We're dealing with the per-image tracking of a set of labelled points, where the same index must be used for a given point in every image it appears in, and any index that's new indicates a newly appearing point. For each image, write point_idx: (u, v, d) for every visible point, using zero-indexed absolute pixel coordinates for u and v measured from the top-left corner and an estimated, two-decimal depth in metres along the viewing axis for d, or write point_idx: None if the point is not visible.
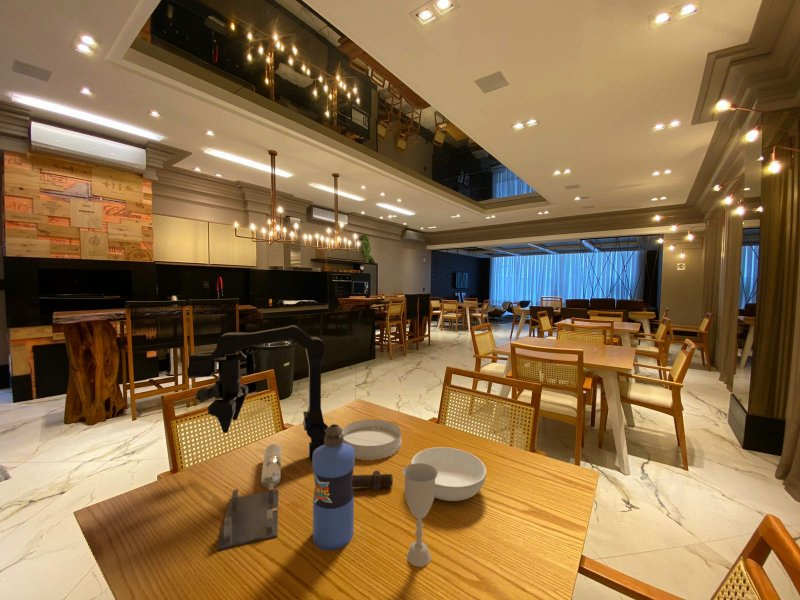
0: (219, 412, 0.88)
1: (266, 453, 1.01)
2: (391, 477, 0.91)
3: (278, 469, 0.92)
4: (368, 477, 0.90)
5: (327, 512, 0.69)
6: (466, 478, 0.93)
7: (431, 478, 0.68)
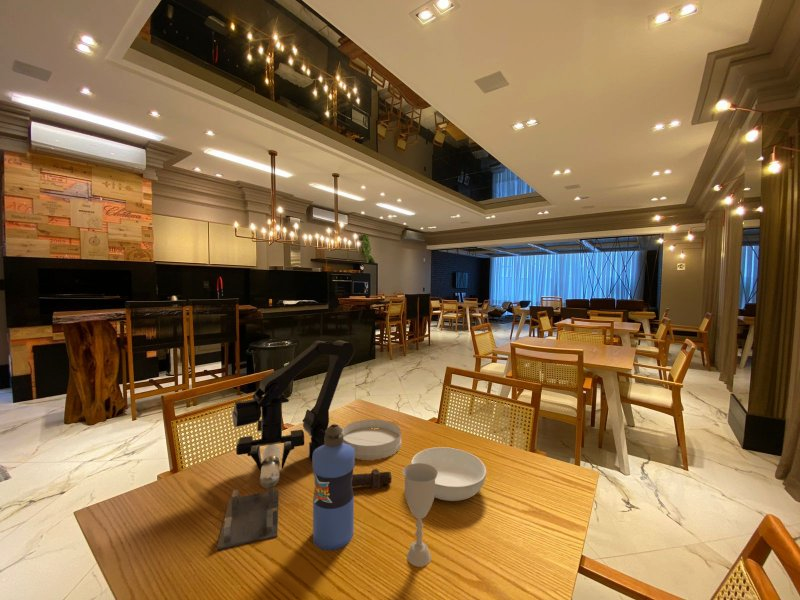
0: None
1: (264, 454, 1.01)
2: (390, 474, 0.92)
3: (276, 469, 0.92)
4: (367, 476, 0.91)
5: (327, 512, 0.69)
6: (466, 478, 0.93)
7: (431, 478, 0.68)
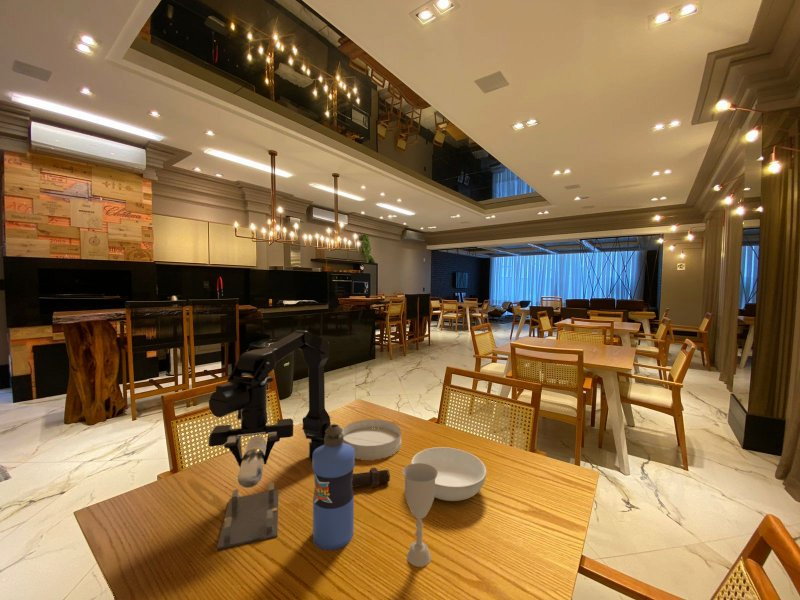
0: None
1: (247, 446, 0.84)
2: (388, 473, 0.93)
3: (259, 464, 0.75)
4: (366, 475, 0.91)
5: (327, 512, 0.69)
6: (466, 478, 0.93)
7: (431, 478, 0.68)
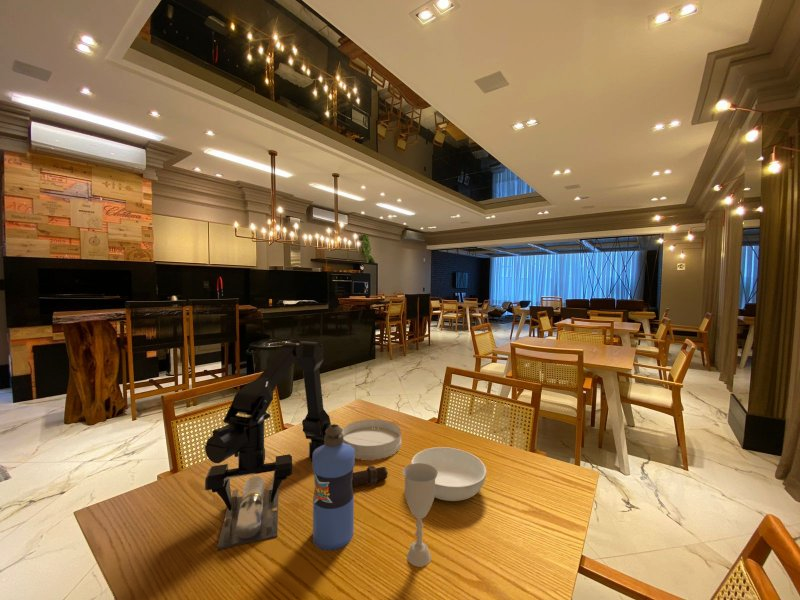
0: None
1: (245, 489, 0.82)
2: (385, 469, 0.95)
3: (258, 513, 0.73)
4: (364, 473, 0.92)
5: (327, 512, 0.69)
6: (466, 478, 0.93)
7: (431, 478, 0.68)
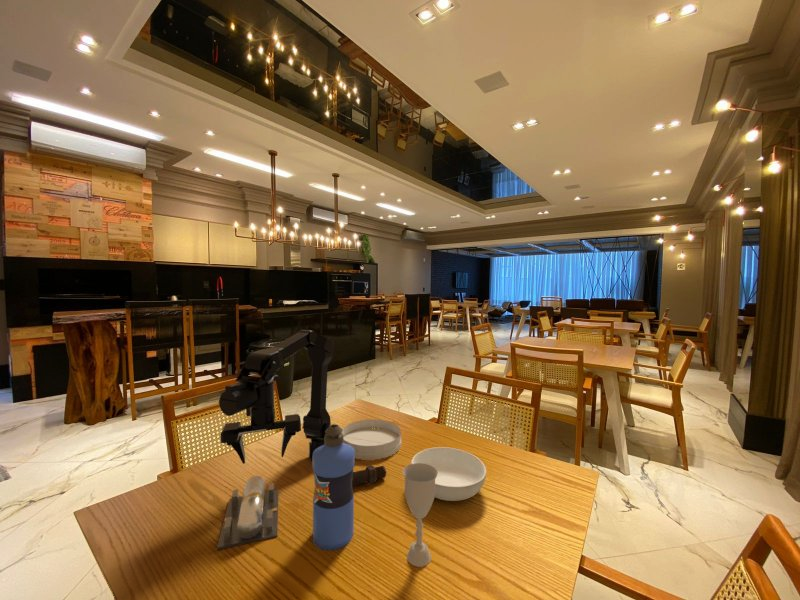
0: None
1: (246, 488, 0.82)
2: (384, 468, 0.95)
3: (259, 513, 0.73)
4: (364, 472, 0.92)
5: (327, 512, 0.69)
6: (466, 478, 0.93)
7: (431, 478, 0.68)
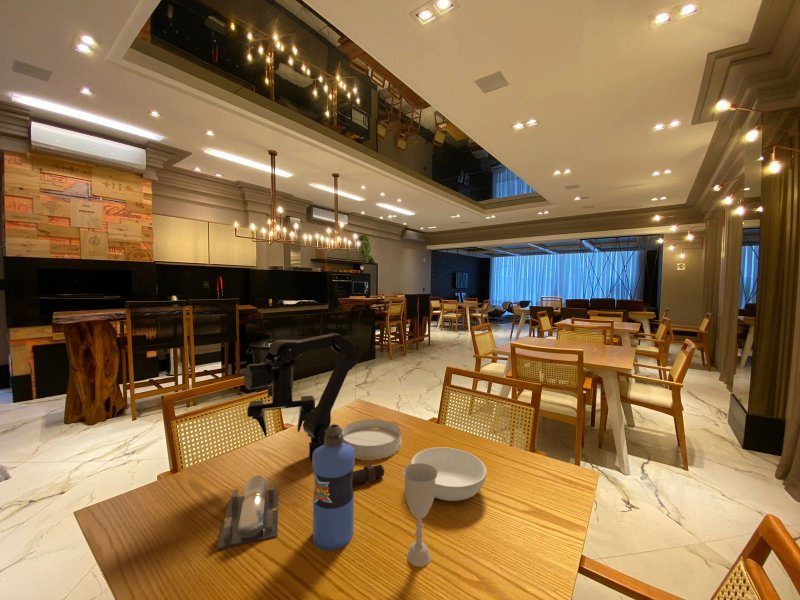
0: None
1: (247, 487, 0.82)
2: (382, 467, 0.96)
3: (261, 514, 0.73)
4: (362, 472, 0.93)
5: (327, 512, 0.69)
6: (466, 478, 0.93)
7: (431, 478, 0.68)
